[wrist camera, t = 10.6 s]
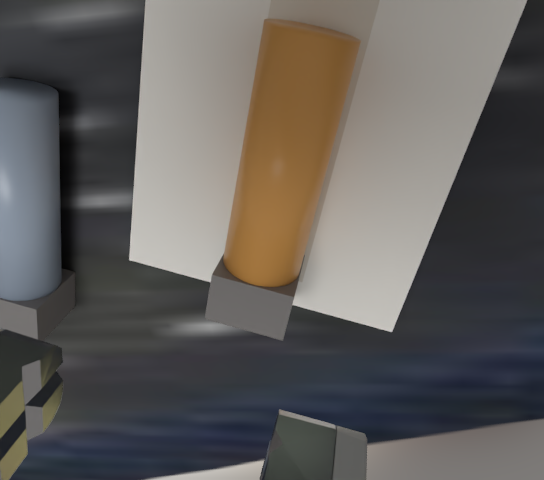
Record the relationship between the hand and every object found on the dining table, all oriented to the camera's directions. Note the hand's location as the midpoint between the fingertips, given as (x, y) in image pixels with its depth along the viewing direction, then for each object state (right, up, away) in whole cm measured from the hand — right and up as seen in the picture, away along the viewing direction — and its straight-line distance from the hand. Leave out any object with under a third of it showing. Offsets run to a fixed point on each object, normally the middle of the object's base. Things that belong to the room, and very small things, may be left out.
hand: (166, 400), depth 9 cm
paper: (+3, +7, +13) cm, 15 cm away
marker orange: (+2, +6, +13) cm, 15 cm away
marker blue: (-10, +5, +17) cm, 20 cm away
